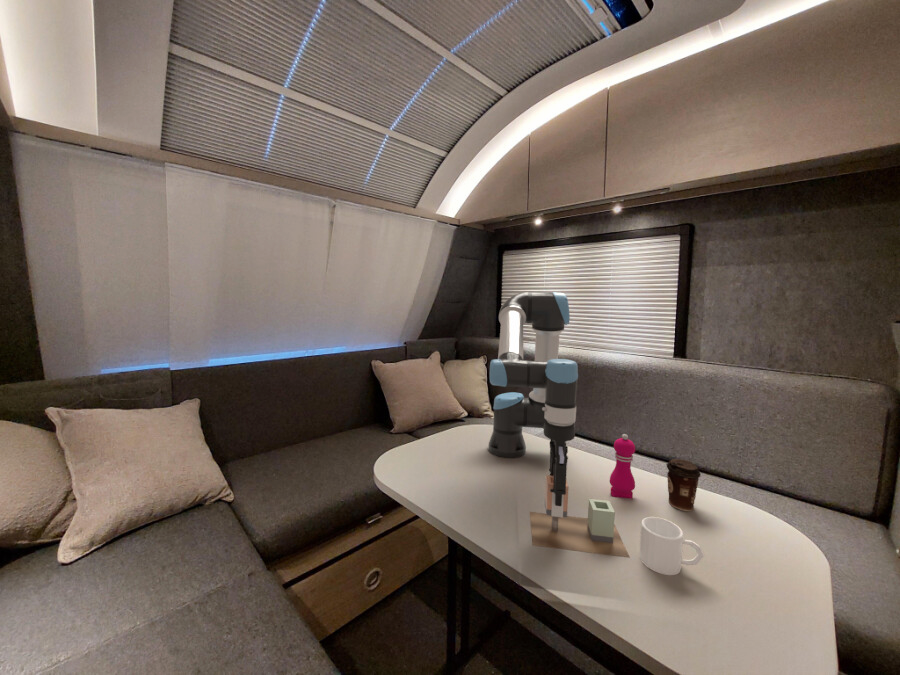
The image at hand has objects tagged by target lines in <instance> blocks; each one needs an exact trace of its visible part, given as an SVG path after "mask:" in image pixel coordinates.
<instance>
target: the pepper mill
mask: <svg viewBox="0 0 900 675" xmlns="http://www.w3.org/2000/svg"><path fill="white" fill-rule="evenodd" d="M613 449H614V451H615V452H614V458H615V467H614V469H613V470H612V472H611V474H610V476H609V484H610V486H611V487H610V496H612V497H613V498H621V499H629V500H633V497H634V492H633V491H634V490H635V487H636V481H635V477H634V475H633V473H632V469H631V464H632V461H633V460H634V458H633V457H634V456H633V455H634V454H635V452H636V445H635V443H634V442H633V441H632V440H631V439H629V436H628V434H626V433H623V434H622V435H621V437H620V438H618V439H616V440H615V441H614V444H613Z"/></svg>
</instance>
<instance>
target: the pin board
mask: <svg viewBox="0 0 900 675" xmlns="http://www.w3.org/2000/svg"><path fill="white" fill-rule="evenodd" d="M529 518H530V519H529V520H530V529H531V531H530V532H531V541H532V542H531V543H532V546H536V547H543V548H551V549H552V548H553V549H560V550H565V551H566V550H567V551H574V552H575V551H576V552H583V553H590V554H592V553H593V554H598V555H599V554H600V555H606V556H614V557H615V556H616V557H623V558H629V559H630V558H631V557H630V555H629V552H628V550H627V548H626V546H625V544H624V542H623V539H622V538H621V534H620V533H619V530H618V529H617V527H616V525H615V523H614V535H613V543H608V542H599V541H591V538H590V535H589V532H588V529H587V525H588V517H580V516H571V515H567V517H555V516H551V515H546V512H536V511H529Z"/></svg>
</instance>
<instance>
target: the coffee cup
mask: <svg viewBox="0 0 900 675" xmlns="http://www.w3.org/2000/svg"><path fill="white" fill-rule="evenodd" d="M665 465H666V468H667V469H668V472H667V477H666V478H667V492H668V503H669V504H670V505H671V506H672V507H673V508H675V509H677V510H680V511H683V512H684V511H685V512H690V511H693V510H694V507H695V505H694V504H695V500H696V494H697V490H698V489H697V488H698V484H699V479H700V477H701V471H700V470H699V467H698V466H697V465H696V464H693V463H692V462H690V461H688V460H685V459H680V458H672V459H671V460H669V461H668V462H667V463H666V464H665Z"/></svg>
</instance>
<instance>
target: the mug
mask: <svg viewBox="0 0 900 675" xmlns="http://www.w3.org/2000/svg"><path fill="white" fill-rule="evenodd" d="M640 525H641V526H640V535H639V536H640V537H639V538H640V539H639V552H638V555H639V559H640V561H641V562H642V563H643V565H645V566H646V567H647V569H651V571H654V572H656V573H658V574H661V575H665V576H674V575H675V576H676V575H678V574H679V573H681V568H682V565H685V566H696V565H698V564H699V563H700V562H701V560H702V559H703V558H704V557H705V554H704V552H703V549H702V548H701V546H700V544H697V543H696V542H694V541H693V540H691V539H690V540H689V539H684V531H683V530H682V529H681V528H680V527H679V525H677V524H675V523H674V522H672V521H670V520H669V519H665V518H663V517H658V516H649V517H648V516H647V517H644V518H642V520H641V524H640ZM683 545H687V546H690V547H691V548H693V549H694V550H695V551H696V553H697V555H695V556H694V557H693V559H684V558H682V556H683Z"/></svg>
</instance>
